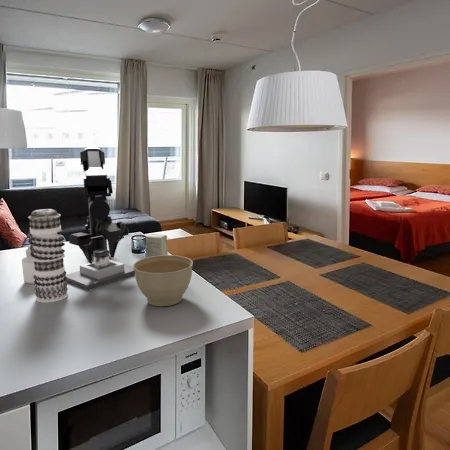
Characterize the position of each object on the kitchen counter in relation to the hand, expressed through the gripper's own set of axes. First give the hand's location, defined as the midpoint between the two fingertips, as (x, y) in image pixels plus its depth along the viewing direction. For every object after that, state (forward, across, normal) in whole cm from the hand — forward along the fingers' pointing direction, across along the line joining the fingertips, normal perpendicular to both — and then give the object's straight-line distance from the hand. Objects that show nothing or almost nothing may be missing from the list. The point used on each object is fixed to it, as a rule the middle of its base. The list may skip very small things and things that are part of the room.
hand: (101, 260), depth 123 cm
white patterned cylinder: (+6, -19, -3) cm, 20 cm away
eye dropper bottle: (+6, -17, +13) cm, 22 cm away
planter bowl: (+6, -1, -30) cm, 31 cm away
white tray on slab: (+6, 0, 0) cm, 6 cm away
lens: (+4, 0, 0) cm, 4 cm away
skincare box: (+6, +16, -9) cm, 19 cm away
